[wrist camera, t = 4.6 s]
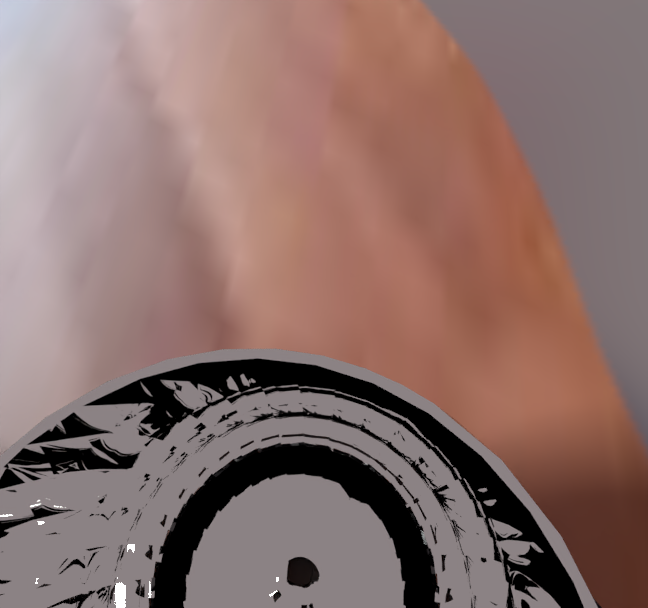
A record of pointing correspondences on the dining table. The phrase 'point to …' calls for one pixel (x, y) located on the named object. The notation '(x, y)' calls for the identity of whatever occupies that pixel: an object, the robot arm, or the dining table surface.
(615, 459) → the dining table surface
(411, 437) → the wineglass
